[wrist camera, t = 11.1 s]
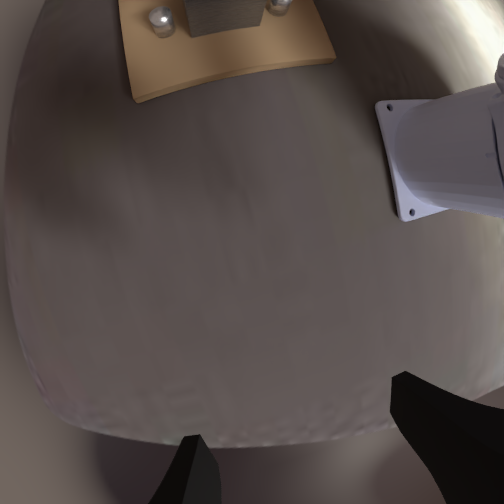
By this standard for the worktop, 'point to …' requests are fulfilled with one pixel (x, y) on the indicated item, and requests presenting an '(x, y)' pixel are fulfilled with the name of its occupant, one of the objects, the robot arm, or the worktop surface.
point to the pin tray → (215, 45)
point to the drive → (222, 15)
